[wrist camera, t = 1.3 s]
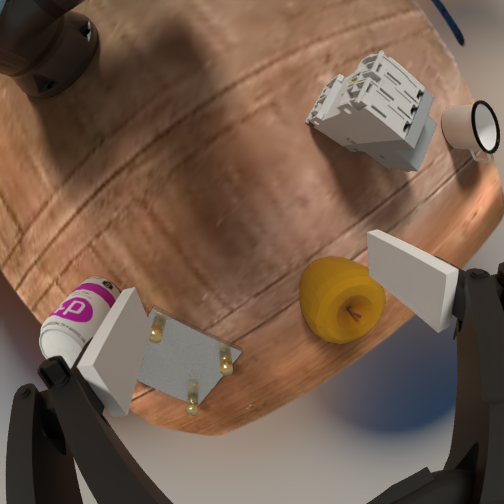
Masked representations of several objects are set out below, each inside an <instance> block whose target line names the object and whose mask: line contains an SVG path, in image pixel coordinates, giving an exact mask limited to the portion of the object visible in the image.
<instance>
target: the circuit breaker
mask: <svg viewBox="0 0 504 504" xmlns="http://www.w3.org/2000/svg"><path fill="white" fill-rule="evenodd" d="M383 53H384V51H380V52H379V54H376V55H374V54H371V55H369V56H367V57H366V58H364V59H362V60H361V62H360V64H359V66H358V67H357V69H356V71H355V72H354V73H353V74H351V75H350V76H348V77H346V78H344V76H342V75H340V74H339V75H338V76H336V77H335V78H333V79H332V80H331V81H330V82H329V83H328V82H327V83H326V85H325V87H324V89H323V91H322V92H321V94H320V96H319V98H318V100H317V101H316V103H315V105H314V107H313V109H312V110H311V112H310V114H309V116H308V118H307V119H306V121H305V122H306V123H307V124H308V123H309V122H311V123H312V124H314V126H313V127H314V128H316V129H317V130H319V131H320V132H322V133H323V134H325V135H327V136H328V137H330V138H331V139H333V140H334V141H336V142H337V143H339V144H340V145H342V146H343V147H344V148H346V149H347V150H349V151H350V152H357V151H363V152H365V153H366V154H367V155H369V156H370V157H371V158H373V159H374V160H375V161H377V162H378V163H379V164H381V165H382V166H383V167H384V168H386V169H398V170H399V169H400V170H405V171H406V172H410V171H418V170H419V168H420V166H421V163H422V161H423V159H424V156H425V154H426V151H427V149H428V146H429V144H430V141H431V138H432V136H433V133H434V130H435V128H436V125H437V124H436V123H435V121H434V120H433V119H432V118H431V117H430V116H429V115H428V113H429V110H430V108H431V105H432V102H433V99H434V97H433V96H432V95H431V94H430V93H429V91H428V90H427V89H426V88H424V87H423V86H422V85H421V84H420V83H419V82H418V81H417V80H416V79H415V78H414V77H413V76H412V75H411V74H410V73H409V72H407V71H406V70H405V69H404V68H403V67H402V66H401V65H399V64H398V63H397V62H396V61H395V60H393V59H392V58H391V57H389V58H387V57H386V56H385V55H383ZM369 61H370V63H369ZM312 116H314V117H312ZM311 117H312V118H311Z"/></svg>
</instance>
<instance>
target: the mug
mask: <svg viewBox="0 0 504 504" xmlns="http://www.w3.org/2000/svg"><path fill="white" fill-rule="evenodd" d="M442 130H443V133H444V136H445V138H446V140H447V142H448V143H449V144H450V145H451V146H452V147H453V148H455V149H468V150H470V153H471V155H472V157H473V159H474V160H475V161H478V162H484V163H489V162H490V161H491V156H490V154H493V153H495V151H497V149H498V146H499V142H500V129H499V124H498V120H497V117H496V115H495V113H494V111H493V109H492V108H491V107H490V105H489V104H488V103H487V102H485V101H482V100H479V101H476V102H475V103H474V104H471V105H462V106H453V107H448V108H446V109H445V110H444V112H443V114H442ZM473 150H483V151H484V152H485V153H486V154H487V157H488V160H487V159H479V158H476V157H475V155H474V152H473Z"/></svg>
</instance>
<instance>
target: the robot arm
mask: <svg viewBox="0 0 504 504" xmlns="http://www.w3.org/2000/svg"><path fill="white" fill-rule="evenodd" d="M83 1H85V0H0V73H1V74H4V75H7V76H10V77H11V78H12V79H13V80H14V81H15V82H16V84H17V85H18V86H19V87H20V89H21V90H22V91H23V92H24V93H26V94H28V95H30V96H33V97H37V98H48V97H51V96H54V95H56V94H58V93H60V92H62V91H63V90H65V89H66V88H68V87H69V86H70V85H71V84H72V83H74V82H75V81H76V80H77V79H78V77H79V76H80V75H81V74H82V73H83V71H84V70H85V69H86V67H87V66H88V64H89V63H90V61H91V59H92V57H93V55H94V52H95V49H96V46H97V40H98V34H97V29H96V27H95V25H94V24H93V23H92V22H91V21H90V19H89V18H88V17H86V16H85V15H83V14H80V13H76V12H72V11H70V10H71V9H73V8H74V7H76V6H77V5H79V4H80V3H82V2H83ZM367 244H368V263H369V276H370V277H371V278H372V279H374V280H375V281H376V282H377V283H379V284H380V285H381V286H383V287H384V288H385V289H386V290H388V291H389V292H390V293H391V294H392V295H394V296H395V297H396V298H397V299H399V300H400V301H401V302H402V303H404V304H405V305H406V306H407V307H408V308H410V309H411V310H412V311H413V312H414V313H416V314H417V315H418V316H419V317H420V318H422V319H423V320H424V321H425V322H426V323H427V324H429V325H430V326H431V327H432V328H433V329H435V330H436V331H437V332H438V333H439V332H440V331H442V330H444V329H446V328H448V327H449V326H450V323H451V318H452V314H453V315H454V316H455V317H457V323H456V328H455V332H454V336H453V339H455V337H456V336H457V397H456V410H455V411H456V412H455V420H454V429H453V437H452V443H451V449H450V454H449V457H448V459H447V462H446V464H445V466H444V469H443V470H441V471H437V472H432V473H430V471H429V469H428V468H427V467H425V468H424V469H422V470H420V471H419V472H417V473H415V474H413V475H412V476H410V477H408V478H406V479H404V480H402V481H400V482H398V483H396V484H394V485H392V486H391V487H389V488H388V489H387V490H385V491H384V492H383V493H381V494H380V495H379V496H377V497H376V498H374V499H373V500H372V501H370V502H369V503H367V504H504V262H503V263H500V264H499V267H498V273H497V274H495V275H490V274H489V273H488V272H487V271H485V270H482V269H476V268H474V269H469V270H467V271H466V272H465V271H464V270H462V269H460V268H458V267H456V266H454V265H452V264H449V263H448V262H447V261H445V260H444V261H443V259H441V258H439V257H437V256H433V255H430V254H428V253H426V252H424V251H422V250H420V249H418V248H416V247H414V246H412V245H410V244H408V243H406V242H404V241H402V240H399V239H397V238H395V237H393V236H391V235H389V234H387V233H384V232H382V231H380V230H378V229H377V230H373V231H369V232H367ZM151 332H152V327H151V325H150V322H149V320H148V318H147V315H146V313H145V310H144V308H143V305H142V303H141V300H140V298H139V295H138V293H137V290H136V287H133V288H129V289H124V290H123V291H122V292H121V294H120V296H119V297H118V299H117V300H116V302H115V303H114V305H113V306H112V308H111V310H110V311H109V313H108V314H107V316H106V317H105V319H104V321H103V322H102V324H101V326H100V327H99V329H98V331H97V332H96V334H95V336H94V337H92V338H91V339H90V340H89V341H88V342H87V343H86V344H85V345H84V347H83V348H82V350H81V351H82V352H80V354H79V355H78V357H77V359H76V360H75V362H74V364H73V366H72V367H71V369H70V368H69V366H68V364H67V363H66V361H65V360H64V358H63V357H62V356H59V355H57V356H53V357H50V358H48V359H47V360H45V361H44V362H43V363H42V364H41V365H40V366H39V368H38V374H39V376H40V377H41V379H42V380H43V382H44V383H45V384H46V386H47V387H48V390H45V391H42V392H39V391H38V390H37V388H36V387H35V385H34V384H26V385H24V386H21V387H20V388H19V389H18V390H17V392H16V393H15V395H14V399H13V405H12V410H11V417H10V424H9V433H8V442H7V455H6V501H7V504H83V501H82V497H81V493H80V489H79V484H78V480H77V475H76V470H75V464H74V459H75V461H76V463H77V465H78V468H79V470H80V472H81V474H82V476H83V477H84V479H85V481H86V483H87V485H88V487H89V489H90V491H91V492H92V494H93V496H94V498H95V499H96V501H97V503H98V504H173V503H172V502H171V501H170V500H169V499H168V498H167V497H166V496H165V495H164V493H163V492H162V491H161V490H160V489H159V488H158V487H157V486H156V485H155V483H154V482H153V481H152V480H151V479H150V478H149V477H148V475H147V474H146V473H145V472H144V471H143V469H142V468H141V467H140V466H139V464H138V463H137V462H136V461H135V459H134V458H133V457H132V455H131V454H130V453H129V451H128V450H127V449H126V447H125V446H124V445H123V443H122V442H121V440H120V439H119V438H118V436H117V435H116V433H115V432H114V430H113V429H112V427H111V426H110V424H109V423H108V421H107V419H106V418H105V417H104V416H103V414H102V413H103V410H104V407H105V408H106V410H107V411H108V412H109V413H110V415H111V416H127V415H128V411H129V407H130V403H131V399H132V396H133V392H134V388H135V385H136V381H137V378H138V374H139V371H140V367H141V364H142V361H143V357H144V354H145V351H146V348H147V344H148V341H149V338H150V335H151ZM73 457H74V458H73Z"/></svg>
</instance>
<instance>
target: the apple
mask: <svg viewBox="0 0 504 504" xmlns="http://www.w3.org/2000/svg"><path fill="white" fill-rule="evenodd" d="M300 304H301V310H302V313H303V316H304V318H305V320H306V322H307V324H308V326H309V327H310V329H311V330H312V331H313V332H314V333H315V334H316V335H317V336H319V337H320V338H321V339H323V340H325V341H328V342H333V343H338V344H343V343H347V342H350V341H354V340H357V339H360V338H362V337H363V336H364V335H365V334H366V333H367V332H369V331H370V330H371V329H372V327H373V326H374V325H375V323H376V322H377V321H378V320H379V318H380V317H381V315H382V312H383V310H384V307H385V304H386V299H385V292H384V289H383V287H382V286H381V285H380V284H379V283H377V282H376V281H375V280H374V279H372V278H371V277H370V276H369V269H368V268H367V267H365V266H363V265H361V264H358V263H356V262H354V261H351V260H348V259H346V258H340V257H325V258H321V259H318V260H316V261H314V262H313V263H311V264H310V265H309V266H308V267H307V269H306V270H305V271H304V273H303V274H302V277H301V281H300Z"/></svg>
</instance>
